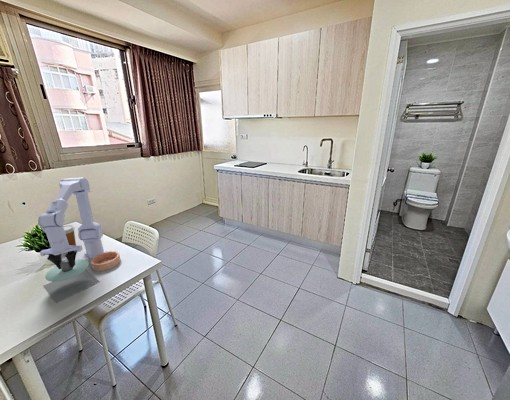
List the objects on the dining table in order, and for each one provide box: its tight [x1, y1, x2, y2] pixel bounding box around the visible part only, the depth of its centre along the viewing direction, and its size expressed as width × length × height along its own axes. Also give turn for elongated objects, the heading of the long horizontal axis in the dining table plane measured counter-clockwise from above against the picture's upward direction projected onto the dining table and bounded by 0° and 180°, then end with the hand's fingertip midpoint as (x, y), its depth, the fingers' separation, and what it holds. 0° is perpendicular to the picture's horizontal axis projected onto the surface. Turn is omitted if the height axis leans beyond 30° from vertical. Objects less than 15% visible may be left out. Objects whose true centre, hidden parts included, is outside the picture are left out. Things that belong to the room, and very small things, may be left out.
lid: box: [45, 258, 90, 283], centre depth 98 cm, size 15×15×5 cm
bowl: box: [90, 250, 121, 272], centre depth 115 cm, size 12×12×4 cm
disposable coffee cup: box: [63, 224, 77, 246], centre depth 131 cm, size 10×10×12 cm
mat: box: [43, 268, 101, 304], centre depth 101 cm, size 18×16×1 cm
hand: (67, 267), depth 98 cm, fingers closed on lid, 4 cm apart
